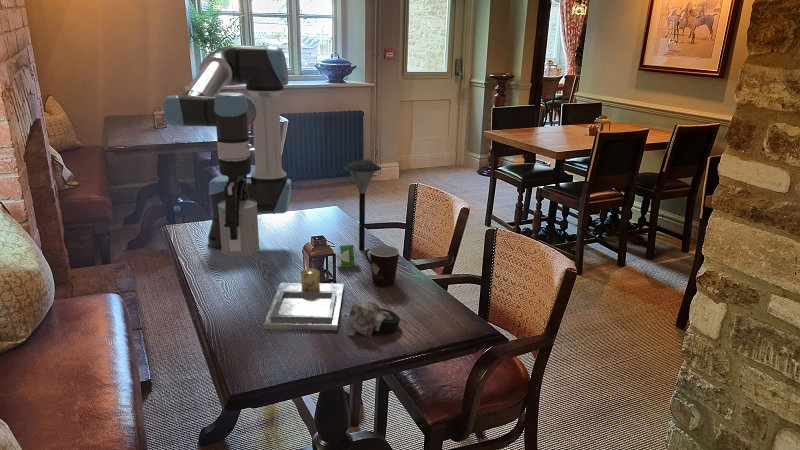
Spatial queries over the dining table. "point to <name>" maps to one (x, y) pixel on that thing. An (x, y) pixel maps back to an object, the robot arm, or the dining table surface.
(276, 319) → the carrier plate
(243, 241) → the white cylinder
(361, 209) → the solar garden light
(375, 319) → the caster wheel
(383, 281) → the coffee mug
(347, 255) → the geometric puzzle
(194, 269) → the dining table surface
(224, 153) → the robot arm
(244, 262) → the dining table surface
